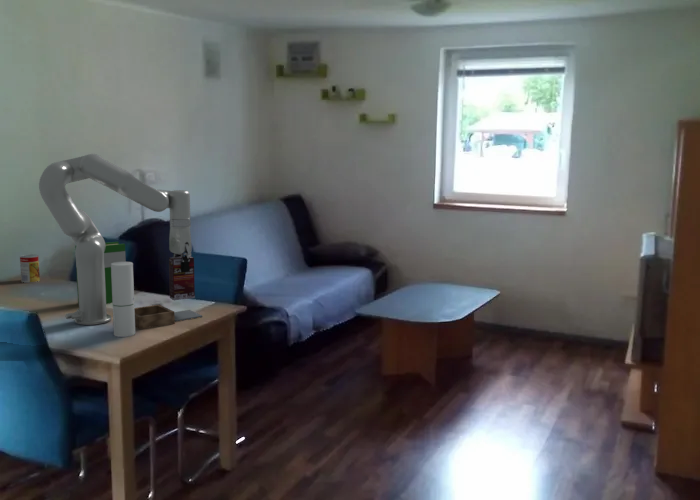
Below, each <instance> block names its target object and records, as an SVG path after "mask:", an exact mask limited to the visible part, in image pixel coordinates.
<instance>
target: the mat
mask: <svg viewBox="0 0 700 500" xmlns="http://www.w3.org/2000/svg"><path fill="white" fill-rule="evenodd" d="M174 316H175V322H176V323H177V322H181V321H180V320H182V321H187V320H186V319H188V320H192V319H191V318H194V319H198V318H197V317H200V318H203V315H202V314H200V313H198V312H195V311H193V310H191V309H187V310H180V311H174Z"/></svg>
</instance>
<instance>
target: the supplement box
mask: <svg viewBox="0 0 700 500" xmlns="http://www.w3.org/2000/svg"><path fill="white" fill-rule="evenodd" d="M181 262H182V260H181V257H173V256H172V257H169V258H168V274H169V275H168V277H169V278H168V280H169V281H168V282H169V290H168V291H169V299H170V300H172V301H180V300H188V299H195V298H196V294H195V293H196V291H195V282H196V281H195V257H193V256H192V255H191V256H190V261H189V272H183V273H182V272H181Z"/></svg>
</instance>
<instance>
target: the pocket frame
mask: <svg viewBox="0 0 700 500" xmlns="http://www.w3.org/2000/svg"><path fill="white" fill-rule="evenodd" d="M134 309H135V329H138V330H144V329H151V328H156V327H162V326H167V325H174V324H176V323H175V316H174V312H175V311H173V310H171V309H170V308H167V307H166V306H163V305H161V304H155V305H154V304H152V305H147V306H140V307H134Z"/></svg>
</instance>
